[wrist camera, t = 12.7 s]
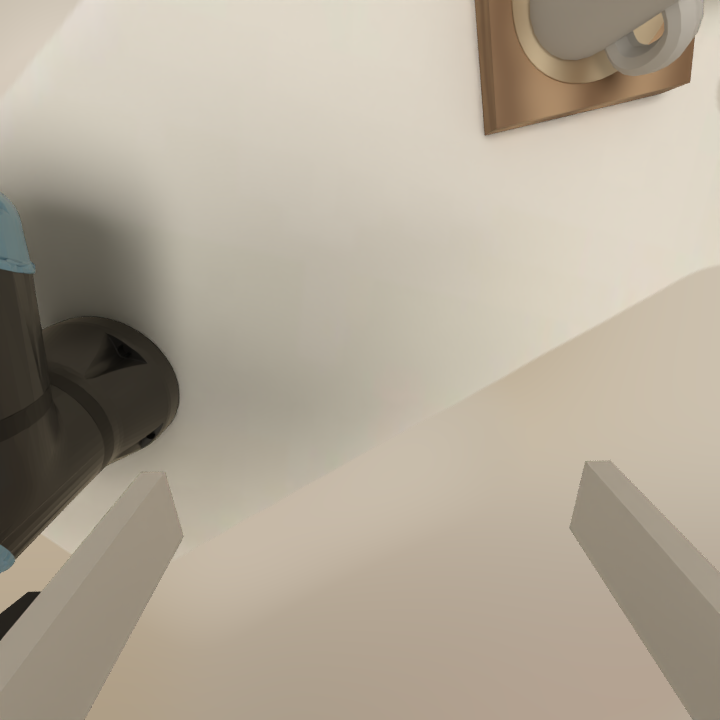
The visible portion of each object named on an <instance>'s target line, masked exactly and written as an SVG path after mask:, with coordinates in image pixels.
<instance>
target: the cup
mask: <svg viewBox="0 0 720 720" xmlns="http://www.w3.org/2000/svg"><path fill="white" fill-rule="evenodd" d="M703 9H704V0H530V19H531V23H532V26H533V30H534V34H535V35H536V37H537V39H538V40H539V42H540V44H541V45H542V46H543V47H544V48H545V49H546V50H547V51H548V52H549V53H550V54H551V55H554V56H556V57H559V58H561V59H564V60H579V59H583V58H587V57H590V56H592V55H594V54H596V53H598V52H600V51H602V50H605V53H606V55H607V57H608V59H609V61H610V62H611V64H612V65H613V67H614V68H615V69H616V70H618V71H619V72H621V73H622V74H624V75H629V76H639V75H644V74H649V73H653V72H656V71H658V70H660V69H663V68H665V67H667V66H668V65H670V64H671V63H672V62H674V61H675V60H676V59H677V58H679V57H680V56H681V54H682V53H683V52H684V50H685V49H686V47H687V46H688V45H689V43H690V42H691V41H692V39H693V38H694V37H695V35H696V34H697V32H698V30H699V27H700V24H701V21H702V18H703ZM660 13H662V16H663V20H664V32H663V35H662V36H661V37H660V38H659V39H658V40H656V41H655V42H653V43H651V44H649V45H648V44H642V43H639V42H638V40H637V39H636V37H635V35H634V32H633V30H635V29H636V28H638V27H640V26H641V25H643V24H644V23H646V22H647V21H649V20H650V19H652V18H653V17H655V16H656V15H658V14H660Z"/></svg>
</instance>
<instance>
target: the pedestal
mask: <svg viewBox="0 0 720 720" xmlns="http://www.w3.org/2000/svg"><path fill="white" fill-rule="evenodd" d="M475 8H476V22H477V36H478V49H479V63H480V77H481V90H482V104H483V117H484V131H485V135H489V134H493V133H498V132H502V131H506V130H510V129H514V128H519V127H523V126H527V125H531V124H535V123H540V122H544V121H548V120H552V119H556V118H561V117H565V116H569V115H573V114H577V113H582V112H586V111H590V110H594V109H598V108H602V107H607V106H611V105H615V104H619V103H623V102H628V101H632V100H636V99H640V98H644V97H649V96H653V95H657V94H661V93H663V92H666V91H669V90H671V89H674V88H676V87H679V86H682V85H684V84H687V83H690V78H691V69H692V59H693V49H694V39H695V37H694V38H693V39H692V41H691V42H690V43H689V45H688V46H687V47H686V49H685V50H684V52H683V53H682V54H681V56H680V57H679V58H677V59H676V60H675V61H674V62H672V63H671V64H670V65H668V66H667V67H665V68H663V69H660V70H658V71H656V72H653V73H649V74H644V75H639V76H629V75H624V74H622V73H621V72H619V71H618V70H616V69H615V68H614V67H613V65H612V64H611V62H610V61H609V59H608V57H607V55H606V53H605V50H602V51H600V52H598V53H596V54H594V55H592V56H590V57H587V58H583V59H579V60H564V59H561V58H559V57H556V56H554V55H551V54H550V53H549V52H548V51H547V50H546V49H545V48H544V47H543V46H542V45H541V44H540V42H539V40H538V39H537V37H536V35H535V34H534V30H533V26H532V23H531V19H530V0H475ZM633 32H634V35H635V37H636V39H637V40H638V42H639V43H642V44H648V45H649V44H651V43H653V42H655V41H656V40H658V39H659V38H660V37H661V36H662V35H663V32H664V20H663V16H662V13H660V14H658V15H656V16H655V17H653V18H652V19H650V20H649V21H647V22H646V23H644V24H643V25H641V26H640V27H638V28H636V29H635V30H633Z"/></svg>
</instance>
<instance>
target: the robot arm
mask: <svg viewBox="0 0 720 720" xmlns="http://www.w3.org/2000/svg"><path fill="white" fill-rule="evenodd" d="M34 273H35V265H34V264H33V263H32V262H31V261H30V258H29V254H28V249H27V245H26V241H25V237H24V233H23V229H22V224H21V220H20V216H19V214H18V211H17V210H16V208H15V206H14V205H13V203H12V202H11V201H10V200H9V199H8V198H7V197H6V196H5V195H4V194H2V193H1V192H0V573H1V572H3V571H6V570H8V569H9V568H10V567H11V566H12V565H13V564H14V562H15V559H16V558H17V557H18V556H19V555H20V554H21V553H22V552H23V551H24V550H25V549H26V548H27V547H28V546H29V545H30V544H31V543H32V542H33V541H34V540H35V539H36V537H37V536H38V535H39V534H40V533H41V532H42V531H43V530H44V529H45V528H46V527H47V526H48V525H49V524H50V523H51V522H52V521H53V520H54V519H55V518H56V517H57V516H58V515H59V514H60V513H61V512H62V511H63V510H64V508H65V507H66V506H67V505H68V504H69V503H70V502H71V501H72V500H73V499H74V498H75V497H76V496H77V495H78V494H79V493H80V492H81V491H82V490H83V489H84V488H85V487H86V486H87V485H88V484H89V483H90V482H91V481H92V480H93V479H94V478H95V477H96V475H97V474H98V473H99V472H100V471H101V470H102V469H103V468H104V467H105V466H107V465H109V464H111V463H113V462H115V461H118V460H120V459H122V458H124V457H126V456H128V455H130V454H132V453H134V452H136V451H138V450H140V449H142V448H144V447H146V446H148V445H149V444H151V443H152V442H153V441H154V440H156V439H157V438H158V437H159V436H160V435H161V433H162V432H163V431H164V430H165V429H166V428H167V427H168V426H169V424H170V423H171V422H172V420H173V418H174V416H175V414H176V411H177V408H178V402H179V390H178V384H177V380H176V377H175V374H174V372H173V370H172V368H171V366H170V364H169V362H168V361H167V359H166V358H165V356H164V355H163V354H162V352H161V351H160V350H159V349H158V348H157V347H156V346H155V345H154V344H153V343H152V342H151V341H150V340H149V339H147V338H146V337H145V336H143V335H142V334H141V333H139V332H138V331H136V330H134V329H132V328H131V327H129V326H127V325H124V324H122V323H119V322H117V321H114V320H110V319H106V318H100V317H76V318H71V319H68V320H65V321H62V322H59V323H57V324H54V325H52V326H49V327H47V328H45V329H43V330H42V329H41V323H40V317H39V311H38V305H37V299H36V293H35V287H34V280H33V274H34ZM570 530H571V532H572V533H573V535H574V536H575V538H576V539H577V541H578V542H579V544H580V546H581V547H582V549H583V550H584V552H585V553H586V555H587V556H588V558H589V560H590V561H591V563H592V564H593V566H594V567H595V569H596V570H597V572H598V573H599V575H600V577H601V578H602V580H603V581H604V583H605V584H606V586H607V587H608V589H609V591H610V592H611V594H612V595H613V597H614V598H615V600H616V601H617V603H618V605H619V606H620V608H621V609H622V611H623V612H624V614H625V615H626V617H627V619H628V620H629V622H630V623H631V625H632V626H633V628H634V629H635V631H636V632H637V634H638V636H639V637H640V639H641V640H642V642H643V643H644V645H645V646H646V648H647V650H648V651H649V653H650V654H651V656H652V657H653V659H654V660H655V662H656V664H657V665H658V667H659V668H660V670H661V671H662V673H663V674H664V676H665V677H666V679H667V681H668V682H669V684H670V685H671V687H672V688H673V690H674V691H675V693H676V695H677V696H678V698H679V699H680V701H681V702H682V704H683V705H684V707H685V709H686V710H687V712H688V713H689V715H690V716H691V718H692V719H693V720H720V572H719V571H718V570H717V569H716V568H715V567H714V566H713V565H712V564H711V563H710V562H709V561H708V560H707V559H706V558H705V557H704V556H703V555H702V554H701V553H700V552H699V551H698V550H697V549H696V548H695V547H694V546H693V544H692V543H691V542H690V541H689V540H688V539H687V538H685V536H684V535H683V534H682V533H681V532H680V531H679V530H678V529H677V528H676V527H675V526H674V525H673V524H672V523H671V522H670V521H669V520H668V519H667V518H666V517H665V516H664V515H663V514H662V513H661V512H660V511H659V510H658V509H657V508H656V507H655V506H654V505H653V504H652V503H651V502H650V501H649V499H647V497H646V496H644V495H643V493H642V492H641V491H640V490H639V489H638V488H637V487H636V486H635V485H634V484H633V483H632V482H631V481H630V480H629V479H628V478H627V477H626V476H625V475H624V474H623V473H622V472H621V471H620V470H619V469H618V468H617V467H616V466H615V465H614V464H613V463H612V462H611V461H586V462H585V465H584V469H583V473H582V478H581V481H580V486H579V490H578V494H577V499H576V503H575V507H574V511H573V515H572V519H571V524H570ZM183 537H184V536H183V532H182V529H181V525H180V522H179V519H178V515H177V512H176V508H175V505H174V501H173V498H172V494H171V491H170V487H169V484H168V480H167V477H166V473H165V472H141V473H140V474H139V475H138V476H137V478H136V479H135V480H134V481H133V482H132V484H131V485H130V486H129V487H128V488H127V490H126V491H125V492H124V493H123V494H122V496H121V497H120V498H119V499H118V500H117V502H116V503H115V504H114V505H113V506H112V507H111V509H110V510H109V511H108V512H107V513H106V515H105V516H104V517H103V518H102V519H101V521H100V522H99V523H98V524H97V525H96V527H95V528H94V529H93V530H92V531H91V533H90V534H89V535H88V536H87V537H86V539H85V540H84V541H83V542H82V543H81V545H80V546H79V547H78V548H77V549H76V551H75V552H74V553H73V554H72V555H71V557H70V558H69V559H68V560H67V562H66V563H65V564H64V565H63V566H62V567H61V569H60V570H59V571H58V572H57V574H56V575H55V576H54V577H53V578H52V580H51V581H50V582H49V583H48V584H47V585H46V587H45V588H44V589H43V590H42V591H41V592H27V593H26V594H25V595H24V596H22V597H21V598H20V599H19V600H17V601H16V602H15V603H14V604H12V605H11V606H10V607H8V608H7V609H6V610H5V611H3V612H2V613H1V614H0V720H85V718H86V716H87V714H88V712H89V711H90V709H91V707H92V705H93V703H94V701H95V700H96V698H97V696H98V694H99V692H100V690H101V688H102V686H103V685H104V683H105V681H106V679H107V677H108V675H109V674H110V672H111V670H112V668H113V666H114V664H115V663H116V661H117V659H118V657H119V655H120V653H121V652H122V650H123V648H124V646H125V644H126V642H127V640H128V639H129V636H130V635H131V633H132V631H133V629H134V627H135V626H136V624H137V622H138V620H139V618H140V616H141V614H142V613H143V611H144V609H145V607H146V605H147V603H148V602H149V600H150V598H151V596H152V594H153V592H154V590H155V589H156V587H157V585H158V583H159V581H160V579H161V578H162V576H163V574H164V572H165V570H166V568H167V566H168V565H169V563H170V561H171V559H172V557H173V555H174V554H175V552H176V550H177V548H178V546H179V544H180V543H181V541H182V539H183Z"/></svg>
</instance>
